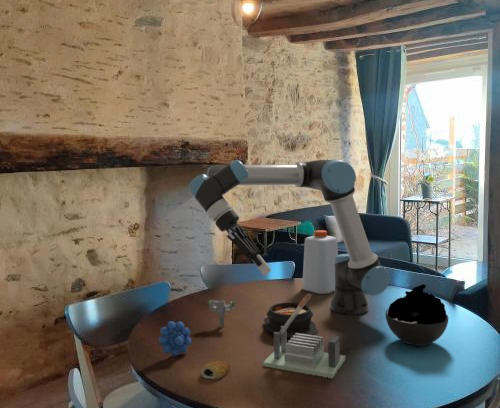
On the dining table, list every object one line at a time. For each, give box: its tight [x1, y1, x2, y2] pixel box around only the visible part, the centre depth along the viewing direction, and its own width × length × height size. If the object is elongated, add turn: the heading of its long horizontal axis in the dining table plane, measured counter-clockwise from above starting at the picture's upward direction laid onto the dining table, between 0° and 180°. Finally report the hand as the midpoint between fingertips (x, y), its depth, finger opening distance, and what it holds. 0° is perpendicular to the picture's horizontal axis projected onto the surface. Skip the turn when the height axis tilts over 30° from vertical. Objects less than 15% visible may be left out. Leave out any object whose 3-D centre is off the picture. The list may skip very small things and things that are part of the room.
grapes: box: [158, 320, 192, 357], centre depth 158 cm, size 12×7×12 cm, turn 126°
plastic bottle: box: [301, 229, 339, 295], centre depth 229 cm, size 15×15×28 cm
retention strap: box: [279, 293, 312, 338], centre depth 151 cm, size 17×6×1 cm
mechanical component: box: [206, 299, 236, 329], centre depth 184 cm, size 3×10×10 cm, turn 78°
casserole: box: [263, 302, 319, 339], centre depth 179 cm, size 25×19×8 cm
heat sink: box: [273, 326, 341, 369], centre depth 151 cm, size 19×11×8 cm, turn 65°
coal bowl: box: [385, 283, 449, 346], centre depth 163 cm, size 20×20×19 cm
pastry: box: [200, 360, 231, 380], centre depth 146 cm, size 9×7×4 cm
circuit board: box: [262, 345, 346, 379], centre depth 151 cm, size 22×14×1 cm, turn 65°
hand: (267, 272), depth 155 cm, fingers closed
